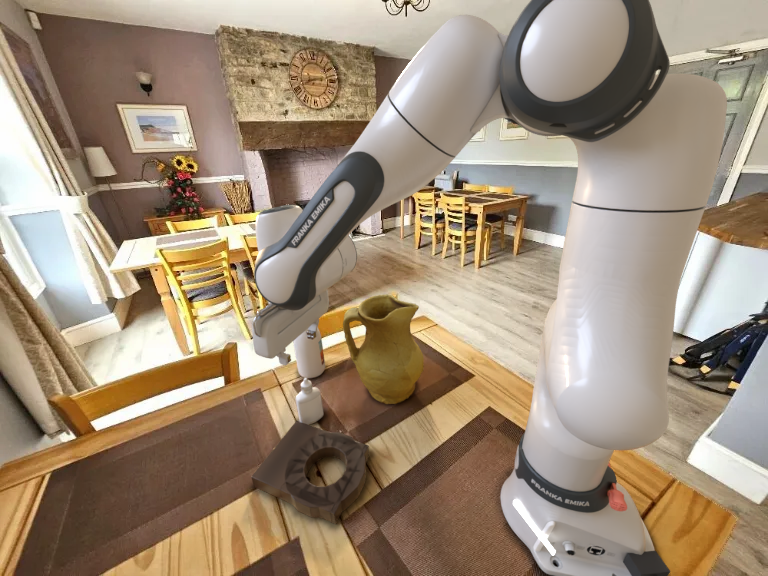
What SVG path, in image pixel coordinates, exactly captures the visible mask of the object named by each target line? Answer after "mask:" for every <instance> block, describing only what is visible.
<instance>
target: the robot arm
mask: <svg viewBox="0 0 768 576" xmlns="http://www.w3.org/2000/svg"><path fill="white" fill-rule="evenodd" d="M656 22H657V21H656V18H655V14H654V11H653V8H652V5H651V2H650V0H530V1H529V2H528V3H527V4H526V5H525V7H524V8H523V9H522V11H521V12H520V13H519V15H518V17H517V18H516V20H515V21H514V24H513V25H512V27H511V29H510V31H509V33H508V34H504V33H502V32H499V31H498V30H497V28H496V27H495V26H494V25H492V24H491V23H490V22H488V21H487V20H486V19H483V18H481V17H479V16H476V15H471V14H459V15H455V16H453V17H451V18H449V19H448V20H447V21H444V23H443V24H442V25H441V26H440V27H439V28H438V29H437V30H436V32H435V33H433V34H432V36H430V38H429V39H428V40H427V41H426V42H425V44H424V45H422V47H421V48H420V49H419V50H418V52H417V53H416V54H415V56H414V57H412V60H411V61H410V62H409V63H408V64H407V65H406V67H405V68H404V70H403V71H402V73H400V75H399V76H398V78H397V79H396V81H395V82H394V84H393V85H392V87H391V88H390V90H389V91H388V93H387V95H386V96H385V97H384V99H383V101H382V102H381V104H380V106H379V107H378V109H377V110H376V112H375V113H374V115H373V116H372V118H371V119H370V121H369V122H368V124H367V125H366V127H365V128H364V130H363V131H362V132H361V134H360V136H359V137H358V139H356V141H355V143H353V145H352V146H351V148H350V149H349V150H348V151H347V152H346V154H345V155H344V157H343V158H342V159H341V160H340V162H339V163H338V164H337V166H336V167H335V168H334V169H333V170H332V172H331V173H330V174H328V176H327V178H326V179H325V180H324V181H323V182H322V184H321V185H320V187H319V188H318V189H317V191H316V192H315V193H314V194H313V195H312V197H311V198H310V200H309V201H308V203H307V204H306V205H305V207H303V208H301V207H300V206H299V205H296V204H285V205H279V206H276V207H275V206H274V207H272V208H267V209H264V210H262V211H260V212H259V213H258V214H257V215H256V217H255V239H256V246H257V252H258V254H257V256H256V259H255V262H254V268H253V269H254V270H253V276H254V277H253V278H254V283H255V287H256V289H257V290H258V293H259V294H260V295H261V297H262V298H263V299H264V300H265V301H267V303H268V304H267V305H266V306H265V307H264V308H261V309H260V310H258V311H257V312H256V315H255V317H254V319H253V320H252V323H251V324H252V325H251V327H252V331H251V332H252V342H253V343H252V345H253V350H254V353H255V354H256V356H257V355H258V356H259V357H261V358H266V359H270V360H272V359H274V358H276V357H277V358H278V363H279V364H280V365H281V366H282V365H283V366H287V365H288V364H289V363H291V361H292V356H291V354H290V353H286V350H287V349H286V348H287V347H288V346H290V344H292V343H293V341H294V340H295V339H296V338H297V337H298V336H300V335H301V334H302V333H303V332H304V331H305V330H306V329H308V328H309V329H308V331H307V332H306V333H307V338H308V339H311V340H313V339H314V338H316V337H317V328H318V329H319V323H320V318H321V317H323V316H324V315H325V314H326V313H327V312H328V310H329V307H330V300H329V299H330V298H329V288H331V287H332V286H334V285H335V284H337V283H338V282H340V281H341V280H342V279H344V278H346V276H348V275H349V274H350V273H352V272H353V271H354V269H355V267H356V265H357V261H358V252H357V247H356V245H355V243H354V241H353V238H351V236H350V235H351V234H352V232H353V231H354V230H355V229H356V228H357V227H359V226H360V225H361V224H362V223H363V222H365V221H366V220H368V219H369V218H370V217H372V216H374V215H375V214H377V213H379V212H381V211H382V210H385V209H386V208H388V207H390V206H391V205H392V206H393V205H394V204H397V203H399V202H401V201H403V200H405V199H407V198H409V197H411V196H414V195H415V194H417V193H418V192H419V191H420V190H422V189H423V188H424V187H426V186H427V185H428V184H429V183H431V182H432V181H433V180H434V179H436V178H437V177H438V176H439V175H440V174H441V173H442V172H443V171H444V170H445V169H446V168H447V167H448V166H449V165H450V164H451V163H452V162H453V161H454V160H455V158H457V156H458V155H459V154H460V153H461V151H462V150H463V149H464V148H465V147H466V146H467V145H468V143H469V142H470V141H471V140H472V139H473V138H474V137H475V136H476V135H477V134H478V133H479V132H480V131H481V130H482V129H483V128H485V126H487V125H488V124H490V123H492V122H494V121H497V120H500V119H504V120H507V121H509V122H511V123H513V124H515V125H518V126H519V127H521V128H522V129H524V130H525V131H527V132H529V133H531V134H534V135H537V136H541V137H560V136H561V137H562V136H563V137H566V138H569V139H570V140H571V141H572V143H573V144H574V146H575V149H576V153H577V173H576V180H575V184H574V189H573V194H572V198H571V205H570V210H569V215H568V220H567V224H566V231H565V236H564V241H563V247H562V253H561V257H560V263H559V271H558V283H557V292H556V298H555V300H554V301H553V302H552V304H551V305H550V307H549V310H548V312H547V314H546V316H545V319H544V323H543V329H542V333H541V338H540V339H541V341H540V346H539V352H538V358H537V364H536V371H535V377H534V383H533V389H532V397H531V402H530V403H531V404H530V409H529V413H528V417H527V421H526V426H525V430H524V433H523V434H522V435H521V437H520V439H519V443H518V445H517V448H516V452H515V457H514V467H513V470H512V472H511V473H510V475H509V476H508V477H507V478H506V479H505V481H504V482H503V484H502V486H501V489H500V497H499V498H500V506H501V510H502V513H503V516H504V517H505V521H506V522H507V524H508V525H509V527H510V529H511V530H512V531H513V532H514V534H515V535H516V536H517V537H518V538H519V539H520V540H521V542H522V543H524V545H525V546H526V547H527V548H528V549H529V551H530V553H531V555H532V556H533V559H534V560H535V562H536V564H537V565H538V567H539V568H540V569H541V571H542V572H544V573H545V574H547V575H549V576H669V575H670V574H671V569H669V567H668V566H667V565H666V563H665V562H664V560H663V559H662V557H661V556H660V555H659V553H658V552H657V551H656V550H655V549H656V548H655V546H654V543H653V540H652V538H651V535H650V532H649V530H648V528H647V527H646V524H645V523H644V520H643V519H642V517H641V514H640V511H639V510H638V507H637V505H636V503H635V500H634V499H633V497H632V496H631V493H629V492H628V490H627V489H626V488H625V487H624V486H623V485H622V484H621V483H619V482H618V479H617V475H616V473H615V471H614V470H613V468H612V466H611V462H610V461H611V459H612V456H613V454H614V451H622V452H623V451H633V450H637V449H638V450H639V449H641V448H645V447H647V446H650V445H652V444H653V443H655V442H656V441H658V440H659V439H660V438H661V437H663V435H665V433H666V431H667V429H668V426H669V423H670V415H669V414H670V412H669V400H668V377H669V376H668V375H669V366H670V360H671V353H672V345H673V338H674V330H675V329H674V328H675V320H676V319H675V317H676V306H677V300H678V293H679V289H680V284H681V279H682V276H683V273H684V270H685V267H686V264H687V262H688V259H689V255H690V253H691V250H692V247H693V244H694V240H695V238H696V235H697V233H698V230H699V226H700V223H701V220H702V218H703V215H704V214H705V213H704V212H705V209H706V207H707V204H708V201H709V199H710V196H711V192H712V190H713V185H714V182H715V179H716V174H717V171H718V167H719V163H720V157H721V153H722V148H723V142H724V136H725V128H726V122H727V109H728V98H727V95H726V92H725V90H724V88H723V87H722V85H720V84H719V83H718V82H716V81H715V80H713V79H710V78H709V77H706V76H703V75H699V74H693V73H669V70H670V66H671V65H670V63H671V62H670V58H669V55H668V53H667V50H666V48H665V46H664V42H663V40H662V37H661V34H660V32H659V29H658V26H657V24H656ZM657 71H659V73H658V74H656V73H657ZM556 565H557V566H556Z"/></svg>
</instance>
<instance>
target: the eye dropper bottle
mask: <svg viewBox="0 0 768 576" xmlns="http://www.w3.org/2000/svg"><path fill="white" fill-rule="evenodd" d="M321 393H322V392H321V391H320V389H319V388H318V387H317V386H313V384H312V381H311V380H309V379H308V378H304V377H303V381H302V382H301V383H300V391H299V392H298V393H297V394H296V396H295V405H296V409H297V410H296V411H297V415H298V421H299V422H302V423H305V424H307V425H312V424H314V423H316V422H318V421H319V420H321V419H322V418H323V417H324V413H325V412H324V407H323V400H322V394H321Z"/></svg>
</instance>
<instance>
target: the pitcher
mask: <svg viewBox="0 0 768 576" xmlns="http://www.w3.org/2000/svg"><path fill="white" fill-rule="evenodd" d="M419 309H420V308H419V305H417V304H416V303H413V302H408V301H405V300H400V299H398V298H396V297H395V296H394V295H393V294H389V293H384V294H377V295H373V296H370V297H368V298H366V299H364V300H363V301H361V303H360V304H359V305H358V307H350V308H349V309H347V310H346V311H345V312H344V315H343V322H342V329H343V333H344V340H345V343H346V345H347V347H348V352H349V355H350V360H351V361H352V362H353V363H354V365H355V368H356V372H357V373H358V376H359V379H360V381H361V383H362V384H363V385H364V387H365V388H366V389H367V390H368V391H367V392H369V394H370V396H371V397H372V398H373V399H374V400H376V401H378V402H380V403H381V404H385V405H393V404H394V405H396V404H399V403H402V402H405V400H406V399H409V397H410V396H412V395H413V394H414V392H415V389H416V382H417V381H418V380H419V379H420V378H421V376H422V373H423V372H424V370H425V369H424V368H425V365H424V364H425V362H424V360H425V359H424V355H423V352H422V350H421V347H420V346H419V345H418V343H417V342H416V341H415V339H414V337H413V336H412V332H411V323H412V319H413V318H414V316H415V315H416V313H417V311H418V310H419ZM355 321H356V322H360V323H361V324H362V325H363V326H364V327H365V334H364V335H365V336H364V340H363V342H362V343H361V345H360V347H357V345H356V342H355V339H354V337H353V334H352V330H351V325H350V324H351V323H353V322H355Z"/></svg>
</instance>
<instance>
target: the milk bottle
mask: <svg viewBox="0 0 768 576" xmlns="http://www.w3.org/2000/svg"><path fill="white" fill-rule="evenodd" d="M308 329H309V328H308ZM308 329H306V330H305V331H304V332H303V333H302V334H301V335H300V336H298V337H297V338H296V339H295V340H294V341H293V342H292V343H293V348H294V349H293V350H294V355H295V356H294V357H295V360H296V367H297V372H298V374H299V375H300V377H302V378H303V379H304V378H307V379H314V378H317V377H319V376H321V375H322V374H323V373H324V372H325V370H326V360H325V354H324V346H323V339H322V334H321V331H320V329H319V327H318V328H317V337H316V338H314V339H313V340H311V339H308V338H307V333H306V332H307V331H308Z"/></svg>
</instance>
